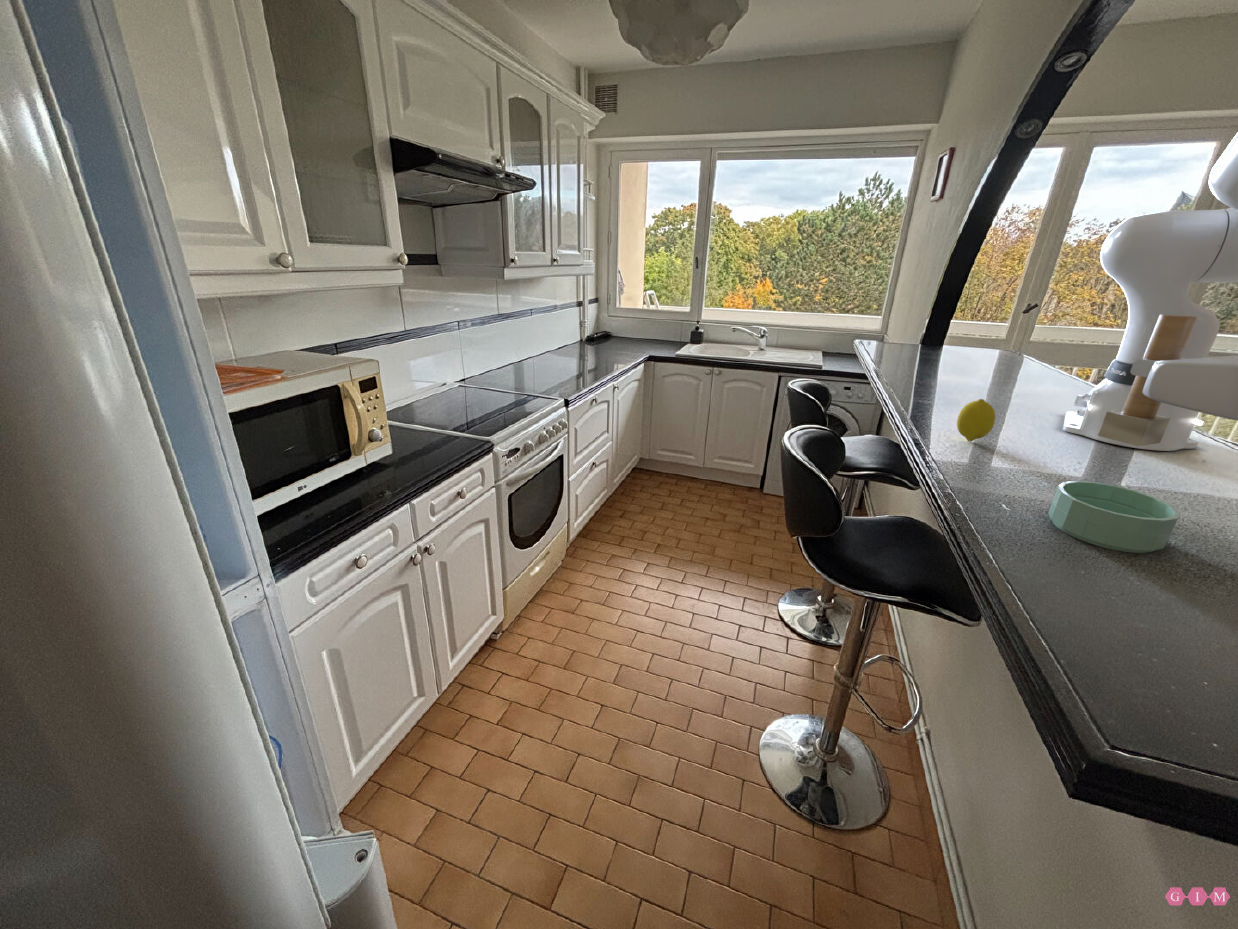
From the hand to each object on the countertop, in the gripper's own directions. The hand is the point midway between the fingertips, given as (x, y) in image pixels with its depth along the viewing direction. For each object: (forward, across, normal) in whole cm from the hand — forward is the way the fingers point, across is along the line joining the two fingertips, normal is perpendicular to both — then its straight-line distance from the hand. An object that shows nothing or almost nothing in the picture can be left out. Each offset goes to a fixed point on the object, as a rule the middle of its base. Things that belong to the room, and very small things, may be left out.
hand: (1147, 365), depth 57 cm
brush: (-1, 0, +8) cm, 9 cm away
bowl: (-2, +1, +20) cm, 20 cm away
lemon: (+28, -15, +20) cm, 37 cm away
